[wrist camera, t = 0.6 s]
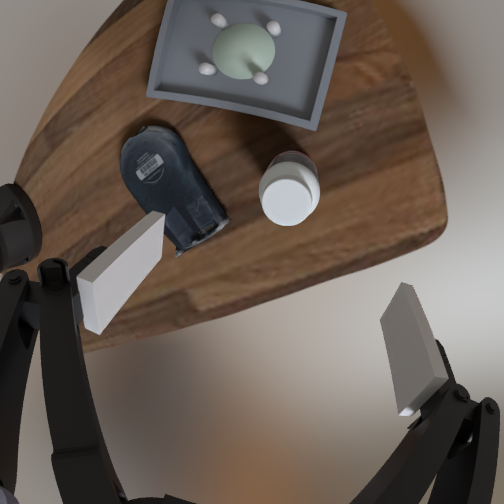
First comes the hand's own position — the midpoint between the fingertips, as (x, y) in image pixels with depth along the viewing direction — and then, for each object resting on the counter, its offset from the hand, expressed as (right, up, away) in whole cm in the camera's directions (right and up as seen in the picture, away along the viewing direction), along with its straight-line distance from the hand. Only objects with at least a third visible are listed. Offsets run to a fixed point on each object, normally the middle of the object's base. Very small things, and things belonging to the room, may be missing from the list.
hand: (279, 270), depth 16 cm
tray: (-2, +22, +11) cm, 24 cm away
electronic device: (-11, +9, +20) cm, 24 cm away
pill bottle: (+3, +9, +16) cm, 19 cm away
